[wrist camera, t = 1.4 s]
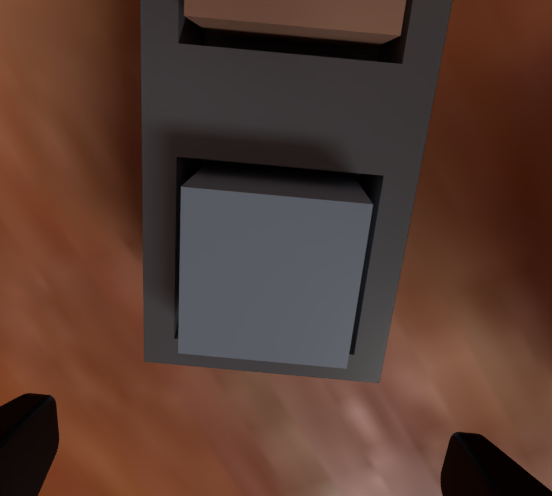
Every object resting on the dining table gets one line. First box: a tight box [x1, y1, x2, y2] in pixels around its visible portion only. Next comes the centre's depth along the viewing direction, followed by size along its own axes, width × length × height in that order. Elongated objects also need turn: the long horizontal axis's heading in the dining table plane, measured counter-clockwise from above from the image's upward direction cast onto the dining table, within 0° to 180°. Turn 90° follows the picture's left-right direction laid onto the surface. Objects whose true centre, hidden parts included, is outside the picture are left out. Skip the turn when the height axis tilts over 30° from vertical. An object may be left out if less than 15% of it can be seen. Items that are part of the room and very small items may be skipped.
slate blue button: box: [178, 162, 373, 369], centre depth 15 cm, size 5×5×4 cm
